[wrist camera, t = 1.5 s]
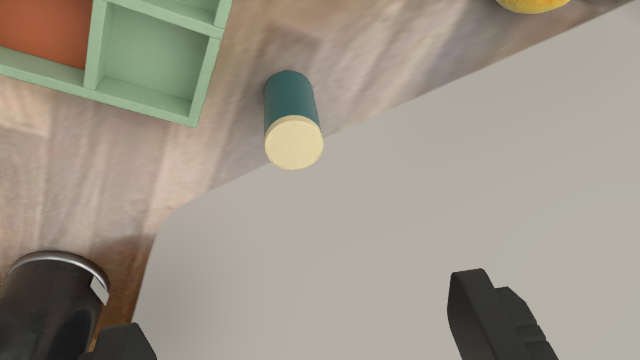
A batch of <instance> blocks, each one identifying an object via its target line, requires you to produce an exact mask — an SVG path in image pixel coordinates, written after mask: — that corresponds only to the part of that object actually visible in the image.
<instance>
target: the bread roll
mask: <svg viewBox="0 0 640 360" xmlns="http://www.w3.org/2000/svg"><path fill="white" fill-rule="evenodd" d="M496 1H497V2H498V3H499V4H500V5H501V6H503V7H504V8H506V9H508V10H510V11H513V12H516V13H523V14H537V13H542V12H546V11H550V10H553V9H555V8H558V7H560V6H563V5H564V4H566V3H567V2H569V1H570V0H496Z"/></svg>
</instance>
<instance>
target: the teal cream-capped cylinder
mask: <svg viewBox="0 0 640 360" xmlns="http://www.w3.org/2000/svg"><path fill="white" fill-rule="evenodd" d="M264 136H265V152H266V154H267V156H268V158H269V159H270V160H271V162H272V163H274V164H275V165H277V166H279V167H281V168H283V169H288V170H298V169H303V168H306V167H308V166H310V165H311V164H313V163H314V162H315V161H316V160H317V159H318V158H319V156H320V155H321V153H322V150H323V138H322V133H321V128H320V123H319V119H318V114H317V109H316V104H315V100H314V95H313V90H312V86H311V84H310V82H309V81H308V79H307V78H306V77H305V76H303V75H302V74H300V73H297V72H294V71H283V72H279V73H277V74H275V75H274V76H272V77H271V78H270V79H269V80H268V82H267V83H266V85H265V88H264Z"/></svg>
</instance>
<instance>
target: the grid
mask: <svg viewBox="0 0 640 360" xmlns="http://www.w3.org/2000/svg"><path fill="white" fill-rule="evenodd" d="M232 1H233V0H0V75H4V76H8V77H11V78H15V79H18V80H22V81H26V82H29V83H33V84H37V85H40V86H44V87H47V88H51V89H55V90H58V91H62V92H66V93H69V94H73V95H76V96H80V97H84V98H87V99H91V100H94V101H98V102H102V103H105V104H109V105H113V106H116V107H120V108H123V109H127V110H131V111H134V112H138V113H141V114H145V115H149V116H152V117H156V118H160V119H163V120H167V121H170V122H174V123H178V124H181V125H185V126H189V127H192V128H197V125H198V121H199V118H200V114H201V111H202V107H203V104H204V100H205V97H206V93H207V90H208V86H209V83H210V79H211V76H212V72H213V68H214V65H215V61H216V58H217V54H218V51H219V47H220V44H221V40H222V37H223V33H224V29H225V26H226V23H227V19H228V16H229V12H230V8H231V5H232Z"/></svg>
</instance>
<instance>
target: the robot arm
mask: <svg viewBox="0 0 640 360" xmlns="http://www.w3.org/2000/svg"><path fill="white" fill-rule="evenodd" d="M108 293H109V281H108V279H107V277H106V275H105V274H104V272H103V271H102V270H101V269H100V268H99V267H98V266H96V265H95V264H93V263H92V262H90V261H89V260H87V259H84V258H82V257H80V256H77V255H74V254H70V253H65V252H58V251H43V252H36V253H32V254H29V255H26V256H24V257H22V258H20V259H19V260H18V261H17V262H16V263H15V264H14V265H13V266H12V268H11V270H10V272H9V273H8V275H7V278H6V281H5V283H4V284H3V286H2V288H1V290H0V360H157V357H156V354H155V353H154V351H153V349H152V347H151V346H150V344H149V342H148V340H147V339H146V337H145V335H144V334H143V332H142V330H141V328H140V327H139V325H138V324H137V323H127V324H121V325H114V326H107V327H104V328H102V330H101V331H100V333H99V335H98V338H97V341H96V344H95V347H94V350H93V352H88V349H89V346H90V343H91V340H92V337H93V334H94V331H95V328H96V325H97V323H98V320H99V317H100V314H101V311H102V308H103V305H105V306H106V303H107V300H108V297H109V294H108ZM447 315H448V321H449V325H450V329H451V332H452V334H453V337H454V340H455V342H456V345H457V347H458V350H459V352H460V355H461V357H462V360H559V359H558V358H557V356H556V354H555V353H554V351H553V349H552V347H551V346H550V344H549V342H547V341H546V337H545V335H544V333H543V332H542V330H541V328H540V326H538V325H537V322H536V319H535V318H534V316H533V314H532V313H531V311H530V309H529V307H528V306H527V304H526V302H525V301H524V300H522V299H521V298H520V297H519V296H518V295H517V294H516V293H514V292H513V291H512V290H511V289H510V288H509V287H501V288H494V286H493V285H492V283H491V281H490V279H489V277H488V275H487V273H486V272H485V271H484V270H483V269H481V268H479V269H473V270H467V271H460V272H453V273H452V275H451V280H450V288H449V296H448V306H447ZM87 352H88V353H87Z"/></svg>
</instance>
